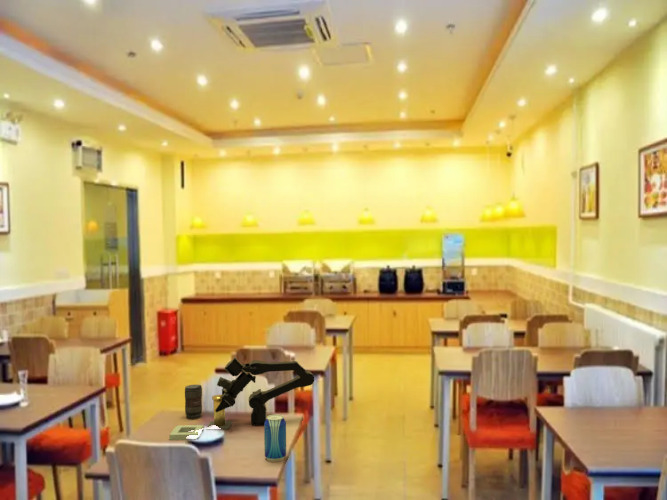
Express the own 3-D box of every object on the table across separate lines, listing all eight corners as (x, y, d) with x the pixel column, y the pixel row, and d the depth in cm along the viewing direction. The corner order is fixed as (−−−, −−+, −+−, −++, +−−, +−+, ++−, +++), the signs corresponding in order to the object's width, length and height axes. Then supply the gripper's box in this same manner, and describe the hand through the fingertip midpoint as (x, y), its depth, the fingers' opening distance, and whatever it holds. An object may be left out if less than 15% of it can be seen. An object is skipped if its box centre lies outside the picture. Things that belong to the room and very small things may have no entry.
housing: (203, 430, 245) (203, 425, 245) (197, 439, 233) (197, 434, 233) (177, 430, 245) (176, 425, 245) (169, 439, 233) (169, 434, 233)
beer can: (265, 454, 216) (264, 414, 215) (286, 453, 216) (285, 413, 216) (264, 462, 207) (263, 420, 207) (286, 461, 208) (285, 420, 208)
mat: (232, 422, 255) (232, 421, 255) (228, 429, 245) (228, 428, 245) (210, 422, 255) (210, 421, 255) (206, 429, 245) (206, 428, 245)
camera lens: (204, 414, 267) (204, 384, 267) (198, 419, 259) (198, 388, 259) (188, 414, 268) (188, 383, 268) (182, 419, 260) (182, 388, 260)
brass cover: (228, 422, 252) (227, 394, 252) (222, 427, 246) (221, 398, 246) (216, 422, 254) (215, 394, 254) (210, 426, 248) (209, 397, 248)
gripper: (227, 367, 260) (204, 391, 258) (227, 376, 241) (202, 402, 239) (244, 382, 261) (221, 407, 259) (245, 392, 243) (220, 419, 241)
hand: (216, 408), depth 250 cm, fingers open, 9 cm apart
